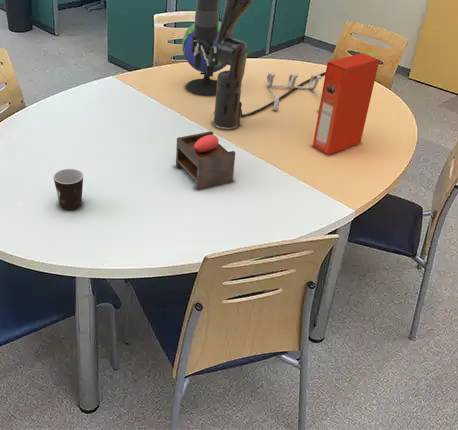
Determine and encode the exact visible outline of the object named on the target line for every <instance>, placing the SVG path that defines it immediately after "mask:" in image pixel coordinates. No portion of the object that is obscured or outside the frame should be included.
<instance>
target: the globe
mask: <svg viewBox="0 0 458 430" xmlns="http://www.w3.org/2000/svg"><path fill="white" fill-rule="evenodd" d="M221 23H222V19H221V18H219V21H218V34H219V30H220V27H221ZM194 27H195V21H194V22H193V23H192V24H191V25H190V26H189V27H188V28H187V29H186V31H185V32H184V34H183V38H182V42H181V43H182V44H181V51H182V54H183V56H184V57H185V60H186V62H187V63H188V64H189V66H190V67H192V68H193V69H194V70H196V71H198V72H200V73H199V74H200V75H204V76H203V77H202V78H196V79H192V80H190V81H188V83H186V85H185V89H186V90H187V91H188V92H189V93H191V94H193V95H196V96H201V97H216V87H217V79H212V78H211V76H210V77H207V76H206V70H207V62H206V60H205V59H204V56H203V54H202V55H201V67H200V68H195V67H194V62H195V56H194V53H192V52H191V48H192V36H193V35H194ZM218 34H217V38H218ZM217 38H216V39H215V40H214V41H213V44H214V46H215V45H216V41H217ZM232 38H233V39H235V37H234V34H232ZM195 48H196V46H195V47H194V49H195ZM207 56H209V55H207ZM214 60H215V58H214ZM209 62H210V59H209ZM227 66H228V65H227V64H224V63H221V62H218V65H214V69H213V73H216V72H219V71H221V70H223V69H224V68H226V67H227Z"/></svg>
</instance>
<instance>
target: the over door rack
mask: <svg viewBox="0 0 458 430" xmlns="http://www.w3.org/2000/svg"><path fill="white" fill-rule="evenodd" d="M288 75H289V76H288V80H287V81H288V85H282V84H273V83H274V78H275V77H276V73H275V72H268V73H267V77H266V85H267V87H268V88H269V90H270V91H271V93H272V94H273V99H274V100H273V101H274V104H273V108H272V110H273V111H278V110H279V104H280V100H279V98H280V97H277V95H276V93H275V92H274V91H273V89H272V88H292V89H293V88H297V89H307V90H311V91H312V92H313V93H314V94H316V95H317V96H318V98H320V99H319V100H320V101H321V96H322V95H320V94H319V93H318V92H317V91H316V90H315V89H316V88H317V86H318V83H319V82H320V81H319V80H321V79H322V76H320V75H319V74H317V75H318V76H317V75H315V74H314V73H313V74H311V75H310V78H311V79H310V78H309V79H310V81H309V86H298V85H296V82H297V81H296V80H297V78H299V74H298V73H293V72H291V73H289V74H288ZM315 76H317V77H316V78H315V79H314V77H315ZM313 82H314V83H313Z"/></svg>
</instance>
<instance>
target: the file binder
mask: <svg viewBox="0 0 458 430" xmlns="http://www.w3.org/2000/svg"><path fill="white" fill-rule="evenodd" d="M379 64H380V59H379V58H377V57H374V56H371V55H368V54H366V53H357V54H353V55H349V56H346V57H341V58H338V59H334V60H331V61H327V64H326V69H325V72H326V74H324V80H323V84H322V92H321V95H320V96H321V98H320V99H321V100H320V103H319V107H318V113H317V120H316V123H315V131H314V136H313V142H312V148H314V149H316V150H317V151H320V152H321V153H323V154H325V155H332V154H335V153H337V152H340V151H343V150H345V149H348V148H352V147H354V146H357V145H360V144H361V142H362V138H363V134H364V129H365V125H366V120H367V117H368V112H369V108H370V104H371V99H372V94H373V90H374V85H375V82H376V77H377V73H378V68H379Z"/></svg>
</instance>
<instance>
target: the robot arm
mask: <svg viewBox="0 0 458 430" xmlns="http://www.w3.org/2000/svg"><path fill="white" fill-rule="evenodd" d="M253 1H254V0H225V4H224V10H223V15H222V19H221V20H222V23H221V27H220V30H219V34H218V21H219V19H220V13H219V10H220V8H219V7H220V0H196V4H195V5H196V7H195V14H194V22H195V27H194V35H193V36H192V48H191V52H192V53H194V56H195V62H194V67H195V68H200V67H201V55H202V54H203V56H204V59H205V60H206V62H207V70H206V76H207V77H210V78H211V77H213V76H214V72H213V69H214V65H218V62H221V63H224V64H227V66H229V70H223V71H221V72H219V73H218V74H217V77H216V80H217V87H216V96H215V102H214V111H213V114H214V115H213V126H214V127H215V128H217V129H220V130H227V131H230V130H234V129H236V128H238V127H240V124H241V118H244V117H249V116H252V115H253V114H256V113H258V112H261V111H263V110H265V109H266V108H268V107H270V106H273V105H274V100H273V101H271V102H270V103H267V104H266V105H264V106H262V107H260V108H257V109H256V110H253V111H251V112H249V113H247V114H243V109H242V107H243V103H242V102H241V95H242V84H243V83H242V82H243V79H244V75H245V71H246V65H247V58H248V44H247V43H246V42H245V41H243V40H240V39H238V38H237V39H236V38H234V39H233V38H232V34H233V33H234V31H235V27H236V25H237V23H238V21H239V20H240V19H241V18H242V17H243V15H244V14H245V13H246V12H247V11H248V9H249V8H250V7H251V5H252V4H253ZM217 34H218V38H217ZM233 35H234V34H233ZM216 38H217V41H216V45H215V46H214V44H213V41H214V40H215V39H216ZM195 46H196V48H195V49H194V47H195ZM207 55H209V56H207ZM214 58H215V60H214ZM209 59H210V62H209ZM325 74H326V71H325V72H322V73H319V74H317V75H315V77H314V79H313V80H316V77H317V76H318V75H320V76H321V77H322V76H325ZM310 79H311V77H310V78H309V79H307V80H305V81H303V82H301V83H299V84H298V85H297V86H300V87H303V86H304V85H305V84H307V83H310ZM297 89H298V88H292V89H291V90H289V91H287V92H286V93H284V94H283V95H281V96H279V97H278V98H279V101H281V100H282V99H283V98H285V97H286V96H288V95H289V94H291V93H292V92H294V91H295V90H297Z"/></svg>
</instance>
